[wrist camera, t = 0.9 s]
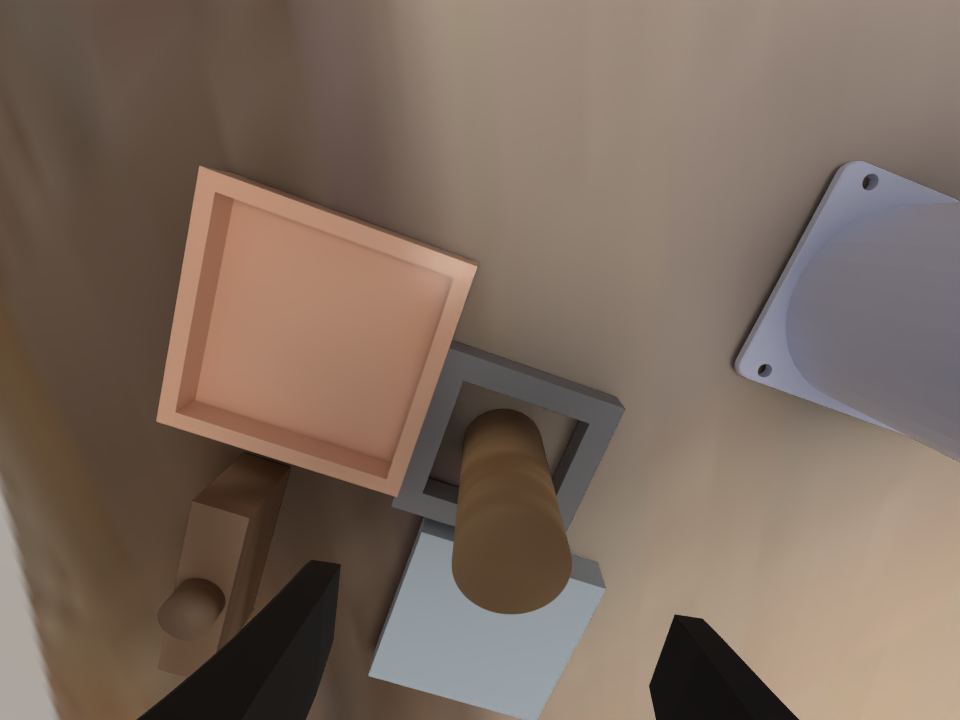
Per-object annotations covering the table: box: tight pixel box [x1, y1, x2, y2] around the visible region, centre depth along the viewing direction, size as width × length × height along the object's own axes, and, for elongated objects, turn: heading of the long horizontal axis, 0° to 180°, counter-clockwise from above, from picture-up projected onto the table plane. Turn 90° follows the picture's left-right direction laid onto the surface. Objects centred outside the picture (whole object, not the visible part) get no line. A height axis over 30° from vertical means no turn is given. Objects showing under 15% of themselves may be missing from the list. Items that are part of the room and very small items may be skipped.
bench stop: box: [158, 453, 290, 677], centre depth 18 cm, size 2×8×4 cm, turn 160°
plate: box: [368, 517, 606, 720], centre depth 21 cm, size 8×8×2 cm
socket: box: [391, 340, 625, 533], centre depth 18 cm, size 7×7×1 cm
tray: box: [156, 166, 478, 497], centre depth 17 cm, size 9×9×2 cm
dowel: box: [452, 409, 572, 614], centre depth 16 cm, size 3×3×7 cm
